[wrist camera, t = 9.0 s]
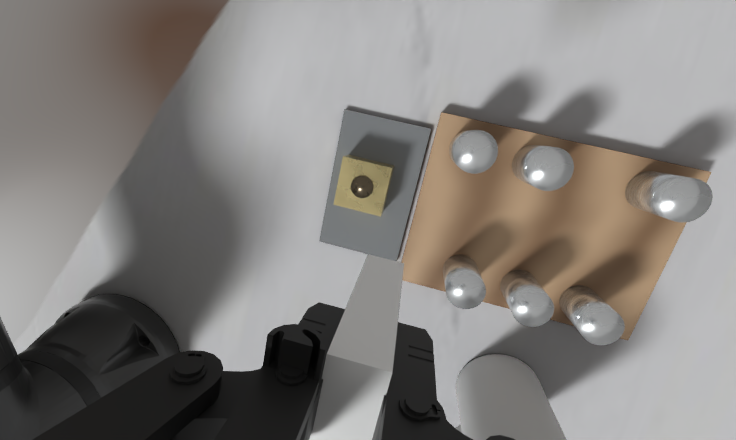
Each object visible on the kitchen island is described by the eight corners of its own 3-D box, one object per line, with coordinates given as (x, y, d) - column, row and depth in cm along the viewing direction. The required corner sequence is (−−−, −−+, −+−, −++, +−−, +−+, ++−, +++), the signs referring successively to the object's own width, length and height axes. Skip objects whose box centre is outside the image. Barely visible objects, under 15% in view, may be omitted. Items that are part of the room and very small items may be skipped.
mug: (506, 338, 35) (543, 427, 24) (557, 398, 36) (613, 509, 25) (413, 393, 38) (410, 493, 28) (461, 447, 39) (476, 564, 28)
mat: (320, 240, 35) (319, 241, 35) (345, 109, 32) (344, 109, 31) (396, 259, 35) (396, 261, 34) (430, 128, 31) (431, 128, 31)
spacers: (413, 274, 34) (412, 295, 29) (454, 126, 30) (460, 125, 25) (605, 325, 32) (634, 355, 28) (675, 176, 28) (721, 184, 24)
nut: (339, 199, 33) (333, 204, 31) (348, 154, 32) (342, 156, 30) (383, 210, 33) (380, 216, 31) (394, 165, 32) (392, 168, 29)
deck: (398, 274, 35) (397, 278, 34) (440, 112, 31) (441, 112, 30) (622, 334, 33) (628, 340, 32) (701, 170, 29) (711, 172, 28)
